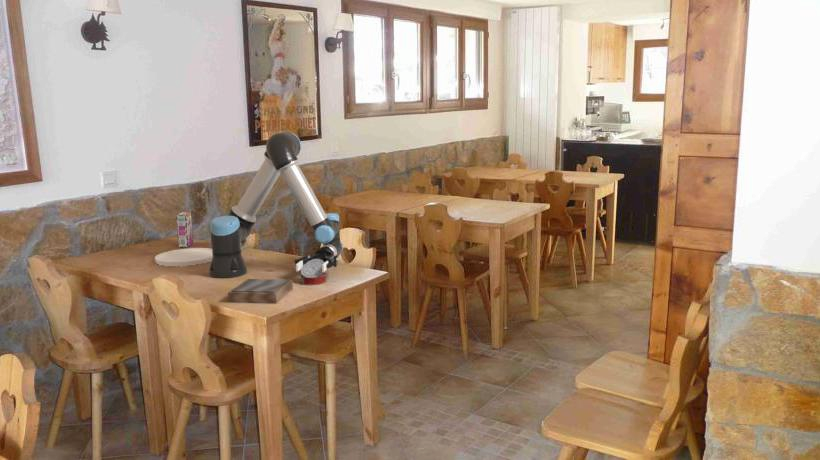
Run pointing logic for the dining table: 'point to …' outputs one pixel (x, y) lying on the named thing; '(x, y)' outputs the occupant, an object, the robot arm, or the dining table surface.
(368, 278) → the dining table surface
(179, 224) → the candy bar box
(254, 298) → the display podium
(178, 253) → the plate
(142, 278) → the dining table surface
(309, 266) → the canned food
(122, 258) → the dining table surface
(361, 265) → the dining table surface
